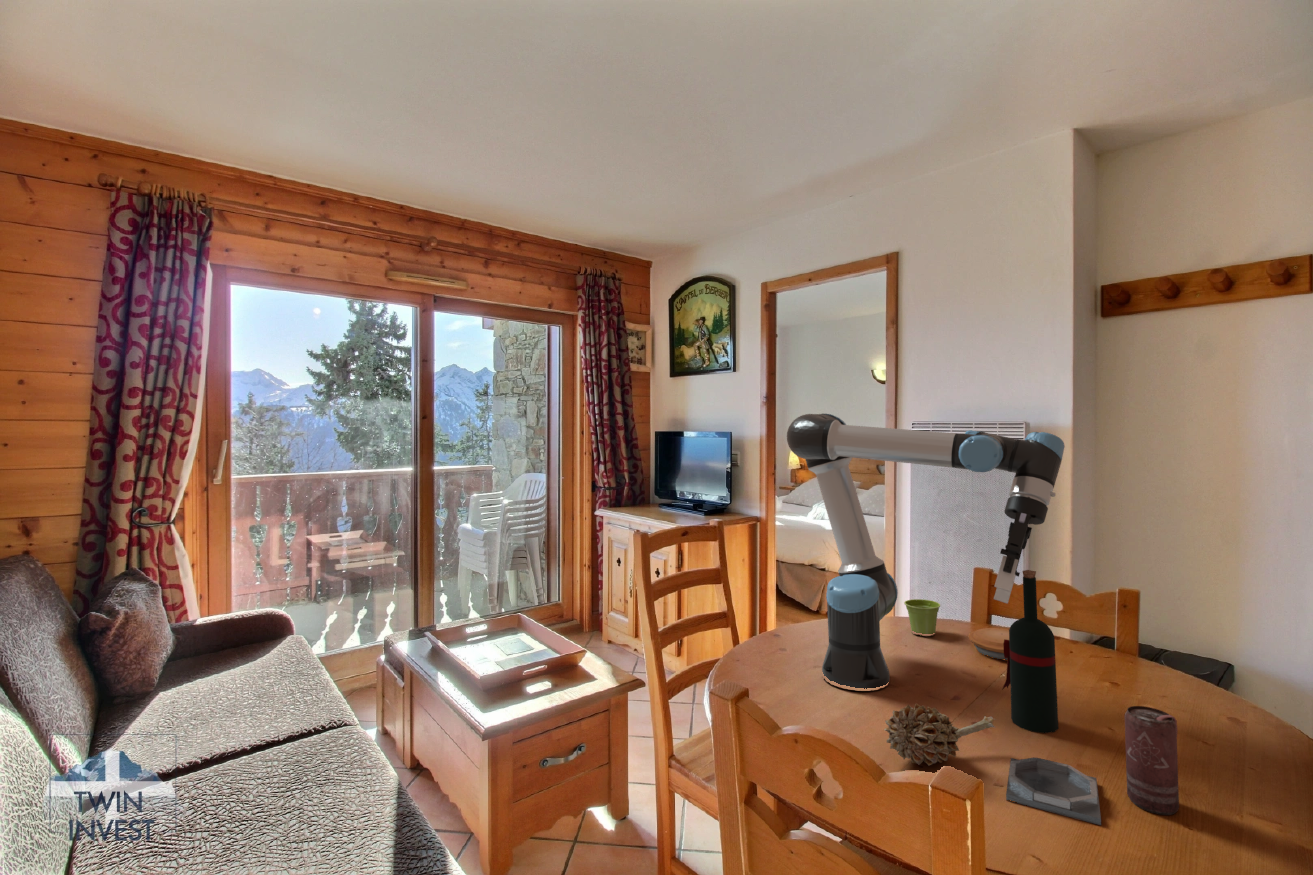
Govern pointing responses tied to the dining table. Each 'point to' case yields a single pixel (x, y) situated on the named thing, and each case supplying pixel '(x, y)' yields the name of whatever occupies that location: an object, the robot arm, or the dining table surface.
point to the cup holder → (1054, 788)
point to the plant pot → (922, 615)
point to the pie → (990, 641)
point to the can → (1152, 760)
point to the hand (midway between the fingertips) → (1001, 595)
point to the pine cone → (927, 734)
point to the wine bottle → (1031, 666)
